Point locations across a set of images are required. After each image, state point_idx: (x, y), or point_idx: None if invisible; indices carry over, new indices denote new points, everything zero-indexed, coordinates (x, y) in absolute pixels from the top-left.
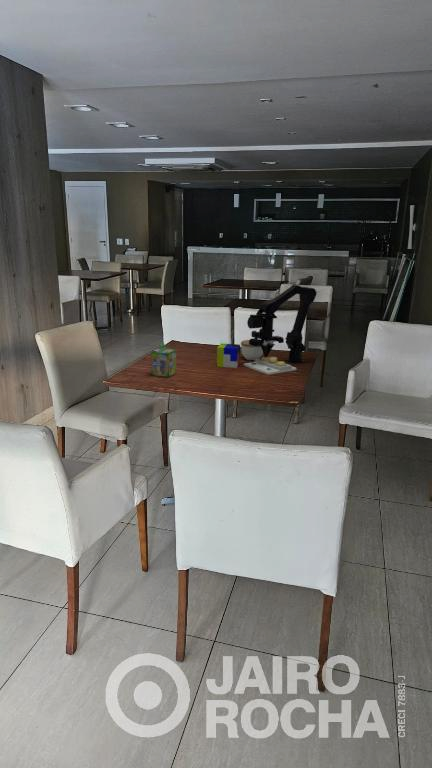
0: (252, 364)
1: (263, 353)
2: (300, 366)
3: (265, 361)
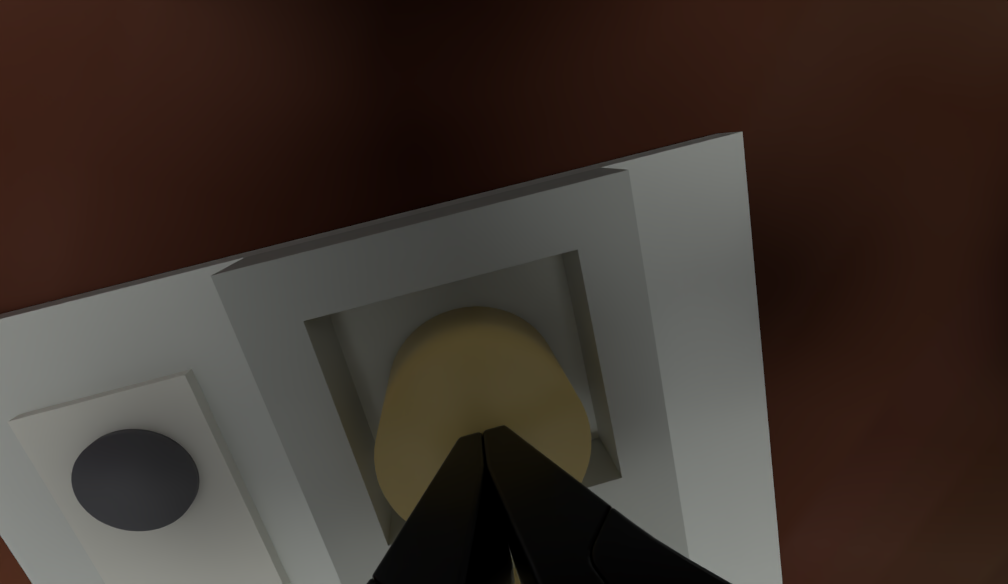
0: (91, 514)
1: (416, 507)
2: (956, 562)
3: None
